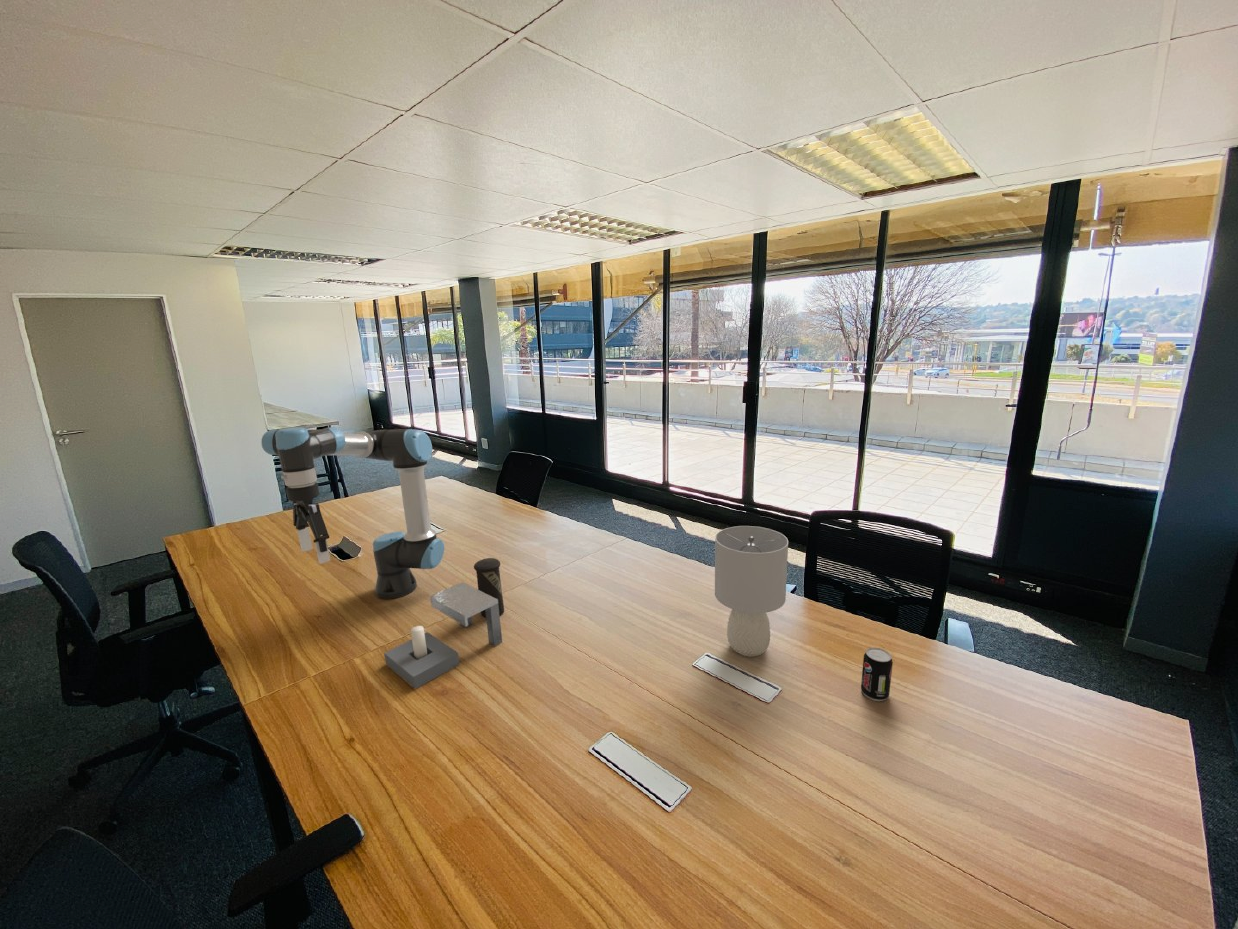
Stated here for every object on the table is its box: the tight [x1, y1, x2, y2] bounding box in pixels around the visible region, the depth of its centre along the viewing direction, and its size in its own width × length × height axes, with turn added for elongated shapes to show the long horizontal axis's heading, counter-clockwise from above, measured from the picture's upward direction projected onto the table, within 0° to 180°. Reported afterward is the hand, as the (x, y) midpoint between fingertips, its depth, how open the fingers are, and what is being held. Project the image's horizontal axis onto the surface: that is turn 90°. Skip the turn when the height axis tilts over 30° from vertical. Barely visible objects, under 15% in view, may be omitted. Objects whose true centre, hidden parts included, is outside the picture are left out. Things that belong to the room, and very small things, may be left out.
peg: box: [410, 625, 428, 660], centre depth 148 cm, size 4×4×12 cm
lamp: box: [714, 525, 789, 658], centre depth 146 cm, size 20×20×37 cm
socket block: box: [383, 631, 460, 690], centre depth 149 cm, size 18×14×4 cm
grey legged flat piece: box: [429, 581, 503, 647], centre depth 159 cm, size 20×12×15 cm, turn 50°
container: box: [473, 557, 505, 619], centre depth 175 cm, size 9×9×20 cm
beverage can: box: [860, 647, 894, 702], centre depth 128 cm, size 7×7×12 cm
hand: (315, 556), depth 140 cm, fingers open, 13 cm apart
